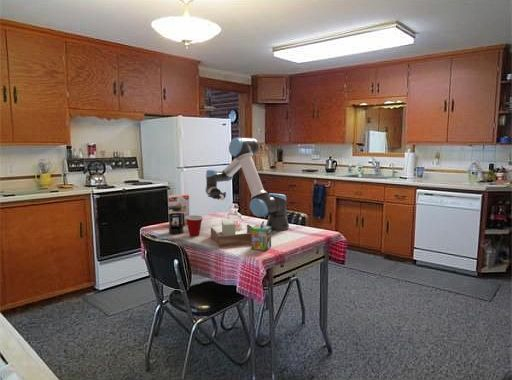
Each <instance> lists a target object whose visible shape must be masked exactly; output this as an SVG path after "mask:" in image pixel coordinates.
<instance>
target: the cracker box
mask: <svg viewBox="0 0 512 380" xmlns="http://www.w3.org/2000/svg"><path fill="white" fill-rule="evenodd" d="M172 197H178V198H176V200H174V198H172ZM167 198H168V207H169V206H182V210H181V211H176V213H184V222H185V226H188V225H187V221H186V218H185V217H186V216H189V215H190V195H189V194H171V195H168V197H167ZM171 213H175V211H173V210H172V209H171V210H169V209H168V214H171ZM172 216H175V215H172ZM176 216H178V215H176ZM177 221H178V222H179V217H178V218H176V222H177ZM173 222H175V218H173ZM173 226H177V225H173ZM182 226H183V222H182Z"/></svg>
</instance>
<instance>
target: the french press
mask: <svg viewBox="0 0 512 380" xmlns="http://www.w3.org/2000/svg"><path fill="white" fill-rule="evenodd" d="M172 198H174V200H176V198H178V197H172ZM167 209H168V211H169V210H171V209H172V210H173V211H175V213H171V214H169V213H168V214H167V217H168V225H169V227H168V234H169V235H172V236H174V235H176V236H177V235H181V234H183V233H184V227H185V226H186V225H185V222H184V213H176V211H181V210H182V206H169V205H168V207H167ZM172 215H175V216H172ZM176 215H178V216H176ZM178 217H179V222H178V221H177V222H176V218H178ZM173 218H175V222H173ZM182 222H183V225H182ZM173 225H176V226H173Z"/></svg>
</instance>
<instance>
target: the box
mask: <svg viewBox="0 0 512 380" xmlns="http://www.w3.org/2000/svg"><path fill="white" fill-rule="evenodd" d="M253 227H254V226H252V225H250V224H246V233H245V232H244V233H238V234H237V233H235V235H225V236H223V235H220V234H219V233H218V232H217V231H216V230H215V229H214V228H213V227H210V238H211V240H212V241H213V242H214V243H215V244H216V245H217V246H218V247H219V248H222V247H223V248H225V247H233V246H235V247H236V246H242V245H244V246H245V245H252V234H251V230H252V228H253Z"/></svg>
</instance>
